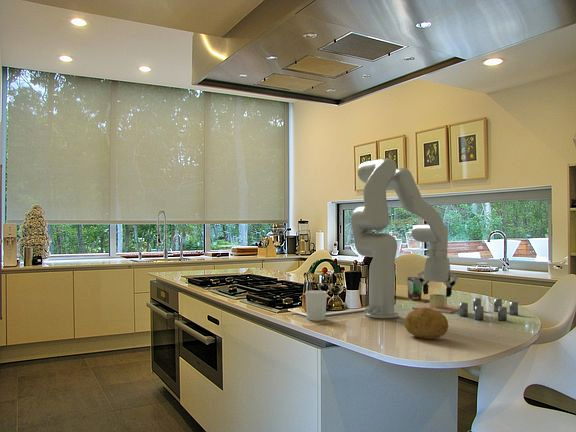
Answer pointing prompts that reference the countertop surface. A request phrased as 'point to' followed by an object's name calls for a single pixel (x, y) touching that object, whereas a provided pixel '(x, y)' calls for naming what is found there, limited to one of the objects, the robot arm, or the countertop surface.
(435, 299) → the brass nut
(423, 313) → the potato
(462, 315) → the standoff field
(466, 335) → the countertop surface
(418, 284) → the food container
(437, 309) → the terracotta mat
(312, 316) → the white cup
